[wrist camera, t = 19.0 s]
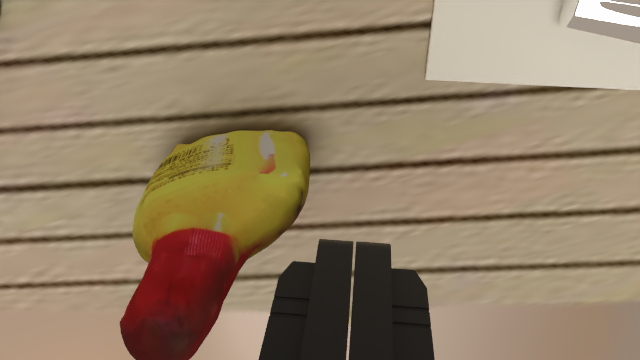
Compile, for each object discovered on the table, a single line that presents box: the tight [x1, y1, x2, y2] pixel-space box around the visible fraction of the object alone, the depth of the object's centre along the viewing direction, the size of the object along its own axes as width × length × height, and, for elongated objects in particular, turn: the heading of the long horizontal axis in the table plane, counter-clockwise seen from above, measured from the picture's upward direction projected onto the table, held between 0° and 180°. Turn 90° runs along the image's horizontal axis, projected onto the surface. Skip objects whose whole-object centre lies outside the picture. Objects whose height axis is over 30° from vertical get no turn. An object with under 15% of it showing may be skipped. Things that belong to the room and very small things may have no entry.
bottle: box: [120, 130, 310, 360], centre depth 33 cm, size 12×6×20 cm, turn 105°
